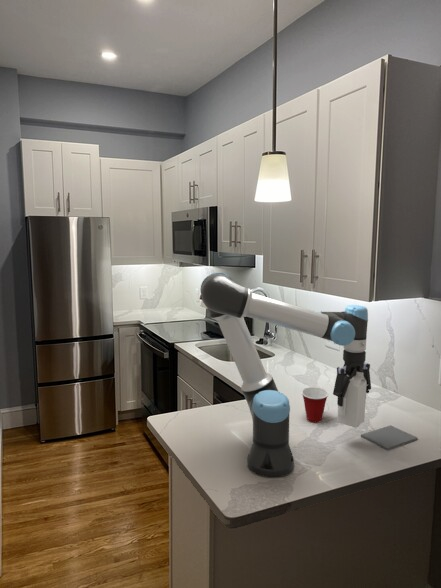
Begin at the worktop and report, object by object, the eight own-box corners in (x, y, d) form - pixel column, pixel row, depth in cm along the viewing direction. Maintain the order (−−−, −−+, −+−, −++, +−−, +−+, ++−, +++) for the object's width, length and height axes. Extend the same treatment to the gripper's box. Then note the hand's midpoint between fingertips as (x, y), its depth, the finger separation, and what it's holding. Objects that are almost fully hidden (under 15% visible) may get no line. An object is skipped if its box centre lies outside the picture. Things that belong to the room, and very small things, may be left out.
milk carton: (345, 416, 164) (348, 366, 161) (364, 421, 160) (367, 370, 157) (337, 422, 159) (339, 371, 156) (356, 428, 154) (359, 375, 152)
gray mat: (387, 450, 155) (387, 448, 155) (360, 436, 165) (360, 434, 165) (417, 439, 163) (417, 437, 163) (390, 427, 173) (390, 425, 173)
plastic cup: (299, 424, 176) (300, 395, 175) (301, 413, 187) (301, 385, 185) (328, 426, 174) (329, 397, 172) (327, 415, 184) (328, 387, 183)
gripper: (339, 356, 147) (336, 421, 150) (384, 348, 157) (380, 409, 161) (323, 351, 153) (321, 413, 157) (368, 343, 164) (364, 402, 167)
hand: (351, 411), depth 159 cm, fingers closed on milk carton, 9 cm apart
